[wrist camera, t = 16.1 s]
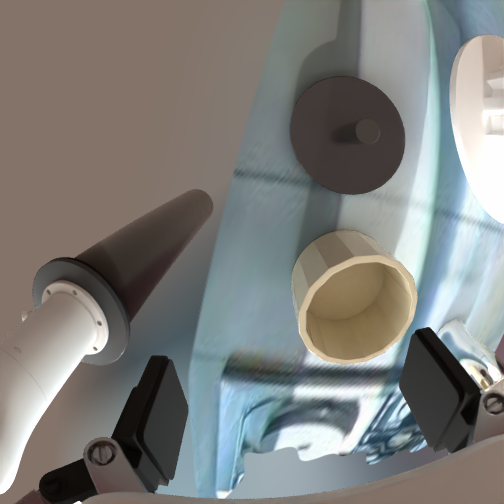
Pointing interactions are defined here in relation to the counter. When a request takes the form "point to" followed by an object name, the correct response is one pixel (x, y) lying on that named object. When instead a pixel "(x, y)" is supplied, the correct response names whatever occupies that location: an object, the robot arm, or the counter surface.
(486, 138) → the ribbed cylinder on disc
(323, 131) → the lid
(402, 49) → the counter surface
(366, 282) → the faceted cream dish
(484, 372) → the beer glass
